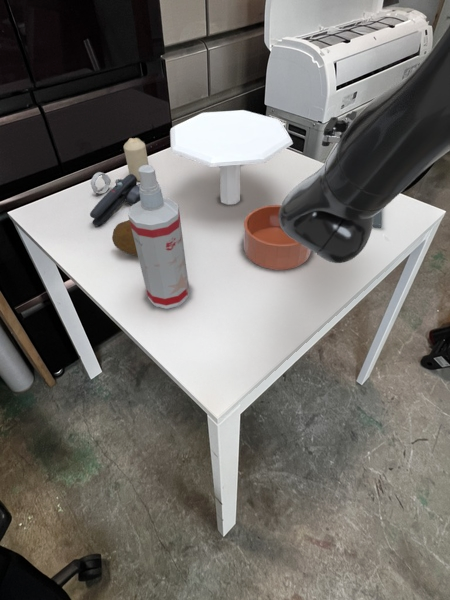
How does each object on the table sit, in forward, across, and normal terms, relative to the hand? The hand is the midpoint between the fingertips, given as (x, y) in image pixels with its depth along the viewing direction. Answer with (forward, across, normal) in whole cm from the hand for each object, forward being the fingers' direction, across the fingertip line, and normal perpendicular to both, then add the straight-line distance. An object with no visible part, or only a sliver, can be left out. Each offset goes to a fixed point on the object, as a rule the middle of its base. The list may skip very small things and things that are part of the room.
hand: (378, 120), depth 63 cm
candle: (+4, +58, +24) cm, 63 cm away
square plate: (+11, 0, +25) cm, 27 cm away
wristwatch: (-7, +62, +24) cm, 67 cm away
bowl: (-10, +13, +24) cm, 29 cm away
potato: (-22, +38, +24) cm, 50 cm away
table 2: (+4, +30, +25) cm, 39 cm away
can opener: (-12, +53, +24) cm, 60 cm away
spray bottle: (-31, +26, +24) cm, 48 cm away
